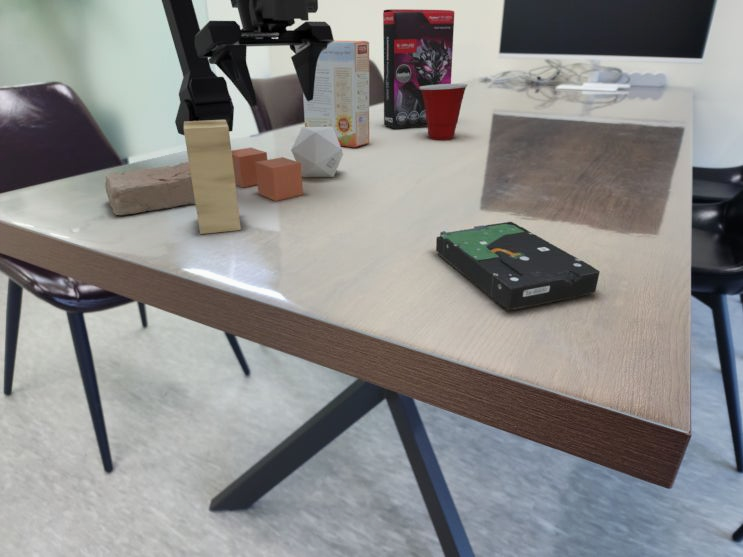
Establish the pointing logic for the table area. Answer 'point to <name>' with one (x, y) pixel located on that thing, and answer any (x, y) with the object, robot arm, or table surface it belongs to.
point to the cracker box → (341, 92)
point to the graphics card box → (414, 61)
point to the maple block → (212, 175)
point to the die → (317, 151)
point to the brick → (150, 189)
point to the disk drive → (516, 265)
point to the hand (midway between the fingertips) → (283, 103)
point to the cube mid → (279, 178)
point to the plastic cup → (442, 108)
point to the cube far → (246, 165)
